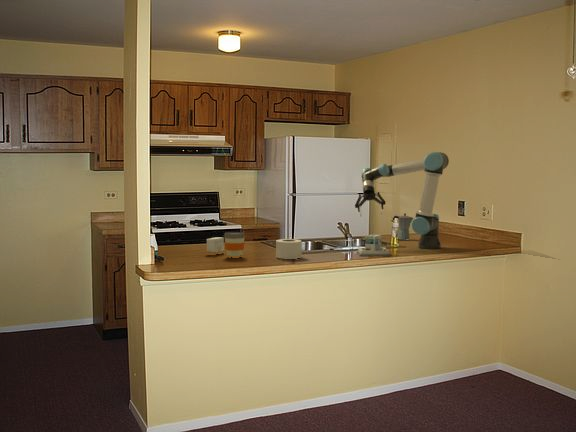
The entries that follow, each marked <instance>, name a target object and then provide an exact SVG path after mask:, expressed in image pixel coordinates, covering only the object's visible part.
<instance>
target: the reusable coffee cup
mask: <svg viewBox="0 0 576 432" xmlns="http://www.w3.org/2000/svg"><path fill="white" fill-rule="evenodd" d="M223 234H224V235H223V238H224V250H226V256H227V255H230V256H240V255H242V256H243V251H244V250H245V238H246V236H245V232H242V231H227V232H224V233H223Z"/></svg>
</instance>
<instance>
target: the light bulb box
mask: <svg viewBox="0 0 576 432" xmlns="http://www.w3.org/2000/svg"><path fill="white" fill-rule="evenodd" d="M364 237H365V244H364V245H365V246H364V247H365V251H381V247H382V234H369V235H365V236H364Z"/></svg>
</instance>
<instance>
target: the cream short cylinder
mask: <svg viewBox="0 0 576 432" xmlns="http://www.w3.org/2000/svg"><path fill="white" fill-rule="evenodd" d="M275 241H276V244H275V248H276V249H275V258H276V257H278V258H284V259H296V260H298V259H297V258H301V257H302V253H303V252H302V250H303V249H302V246H303V245H302V244H303V243H302V240H300V239H293V238H284V239H282V238H281V239H276V240H275ZM301 259H302V258H301Z"/></svg>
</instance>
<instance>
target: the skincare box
mask: <svg viewBox="0 0 576 432" xmlns="http://www.w3.org/2000/svg"><path fill="white" fill-rule="evenodd" d="M223 250H224V251H225V238H224V236H223V237H218V236H217V237H216V236H215V237H211V238H206V252H207V251H211V252H218V251H223Z"/></svg>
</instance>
